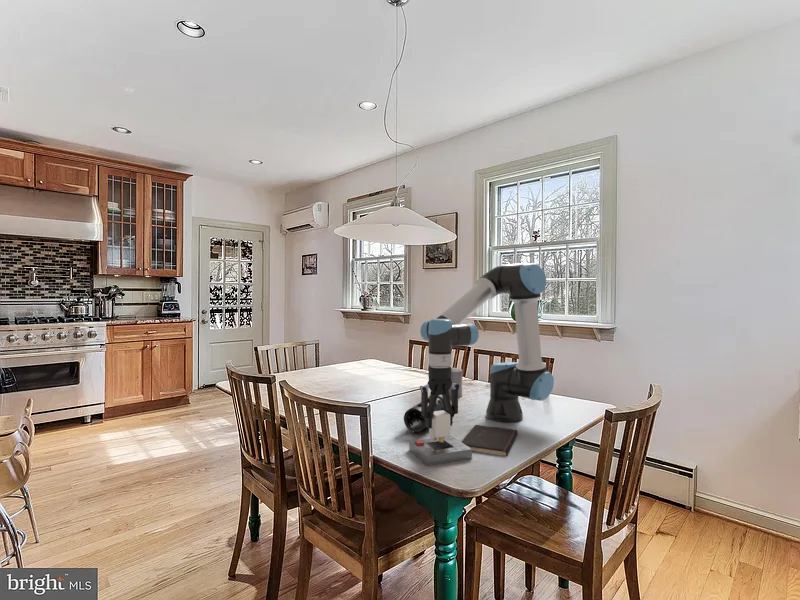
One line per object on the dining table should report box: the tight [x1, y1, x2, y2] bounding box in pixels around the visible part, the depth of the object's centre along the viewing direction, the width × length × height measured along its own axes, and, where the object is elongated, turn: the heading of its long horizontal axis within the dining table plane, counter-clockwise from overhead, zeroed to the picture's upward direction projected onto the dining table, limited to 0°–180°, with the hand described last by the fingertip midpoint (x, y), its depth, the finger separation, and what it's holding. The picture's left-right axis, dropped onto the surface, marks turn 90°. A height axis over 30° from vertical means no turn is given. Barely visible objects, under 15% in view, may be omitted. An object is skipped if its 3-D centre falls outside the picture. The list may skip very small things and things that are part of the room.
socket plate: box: [408, 434, 473, 467], centre depth 142 cm, size 16×14×4 cm
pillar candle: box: [448, 367, 463, 399], centre depth 219 cm, size 10×10×15 cm
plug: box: [432, 410, 451, 442], centre depth 142 cm, size 5×5×9 cm
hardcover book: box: [461, 424, 518, 457], centre depth 154 cm, size 16×23×2 cm
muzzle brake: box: [403, 394, 446, 435], centre depth 174 cm, size 10×28×10 cm, turn 154°
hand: (439, 436), depth 142 cm, fingers closed on plug, 5 cm apart
